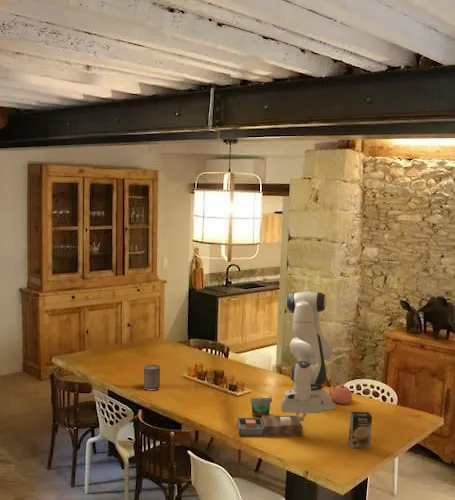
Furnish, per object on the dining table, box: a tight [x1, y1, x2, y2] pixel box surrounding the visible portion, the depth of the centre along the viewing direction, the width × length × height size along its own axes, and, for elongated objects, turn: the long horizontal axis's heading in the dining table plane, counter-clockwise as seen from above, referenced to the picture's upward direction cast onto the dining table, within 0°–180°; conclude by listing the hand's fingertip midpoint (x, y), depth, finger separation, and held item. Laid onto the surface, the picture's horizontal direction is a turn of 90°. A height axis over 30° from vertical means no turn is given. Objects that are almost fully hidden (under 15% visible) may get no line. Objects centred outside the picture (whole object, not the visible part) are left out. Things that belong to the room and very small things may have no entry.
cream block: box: [280, 417, 291, 425], centre depth 301 cm, size 5×5×2 cm
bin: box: [236, 417, 265, 437], centre depth 304 cm, size 12×15×4 cm
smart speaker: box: [143, 364, 161, 390], centre depth 364 cm, size 10×10×15 cm
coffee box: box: [348, 411, 373, 449], centre depth 288 cm, size 9×6×16 cm
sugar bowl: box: [328, 384, 353, 405], centre depth 351 cm, size 12×14×10 cm
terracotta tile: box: [245, 420, 256, 428], centre depth 307 cm, size 5×5×2 cm
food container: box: [249, 396, 273, 418], centre depth 323 cm, size 12×6×10 cm, turn 105°
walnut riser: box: [261, 414, 303, 437], centre depth 304 cm, size 19×15×5 cm
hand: (300, 420), depth 301 cm, fingers closed
